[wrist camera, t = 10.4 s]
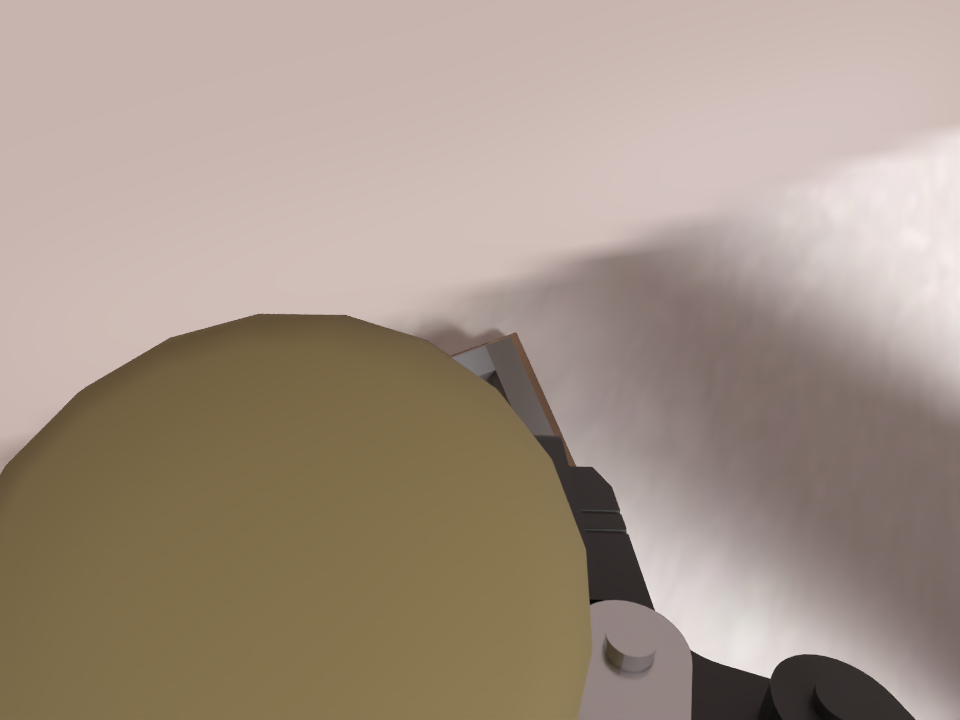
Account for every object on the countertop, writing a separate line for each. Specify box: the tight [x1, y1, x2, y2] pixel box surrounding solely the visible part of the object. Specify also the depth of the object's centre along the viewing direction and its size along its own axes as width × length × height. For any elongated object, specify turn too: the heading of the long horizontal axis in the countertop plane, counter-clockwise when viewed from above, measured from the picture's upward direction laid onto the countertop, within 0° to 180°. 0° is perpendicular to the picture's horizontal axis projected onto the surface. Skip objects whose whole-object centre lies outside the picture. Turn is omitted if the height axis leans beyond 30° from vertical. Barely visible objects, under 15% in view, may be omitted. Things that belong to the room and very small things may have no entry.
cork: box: [0, 314, 593, 720], centre depth 9 cm, size 6×6×11 cm
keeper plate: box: [450, 333, 576, 467], centre depth 18 cm, size 12×12×3 cm
